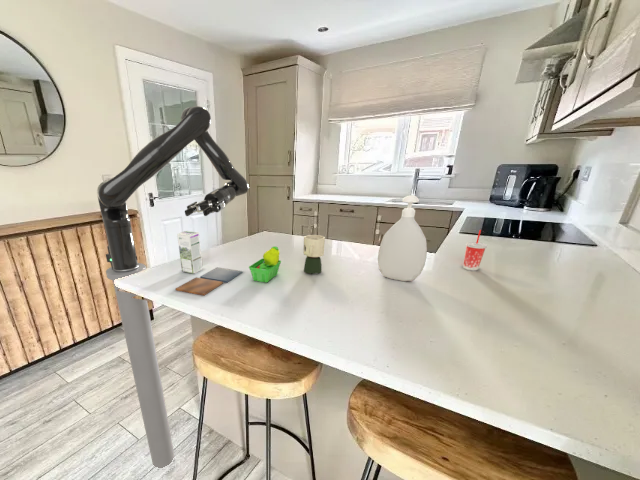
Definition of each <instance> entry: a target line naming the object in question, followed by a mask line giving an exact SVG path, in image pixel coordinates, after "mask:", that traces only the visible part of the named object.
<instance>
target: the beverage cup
mask: <svg viewBox="0 0 640 480" xmlns="http://www.w3.org/2000/svg"><path fill="white" fill-rule="evenodd" d="M481 233H482V229H479V231H478V234H477V238H476V241H468V242H465V246H466V247H465V252H464V259H463V263H462V268H463V269H464V270H467V271H479V268H480V266H481V262H482V260H483V256H484V254H485V251H486V249H487V247H488V244H487V243H483V242H479V241H480V240H479V239H480V236H481Z"/></svg>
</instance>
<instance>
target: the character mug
mask: <svg viewBox="0 0 640 480" xmlns="http://www.w3.org/2000/svg"><path fill="white" fill-rule="evenodd" d="M325 242H326V237H325V236H324V235H319V234H308V235H304V236H303V255H304V256H305V261H304V265H303V272H304V273H305V274H311V275H313V274H321V273H322V271H323V270H322V269H323V268H322V258H321V257H323V256H324V254H325Z"/></svg>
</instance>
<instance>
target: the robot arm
mask: <svg viewBox="0 0 640 480" xmlns="http://www.w3.org/2000/svg"><path fill="white" fill-rule="evenodd" d="M180 114H181V115H180V122H179V123H177V124H176V125H175V126H174V127H173V128H171V129H169V130H167V131H165V132H163V133H162V134H160V135H158V136H157V137H155V138H153V139H152V140H150V142H148V143H147V144H146V145H145V146H143V148H141V149H140V150H139V151H138V152H137V153H136V154H135V156H134V157H133V158H132V159H131V161H130V162H129V163H128V164H127V166H126V167H125V168H124V169H123V170H122V171H120V172H119V173H117V174H116V175H115V176H113V177H112V178H111V179H109V180H104V181H102V182H100V184H99V185H98V186H97V189H96V195H97V202H98V205H99V210H100V214H101V219H102V222H103V227H104V231H105V236H106V240H107V246H106V248H107V252H108V253H105V258H106V262H107V263H109V264H110V266H111V267H112V270H113V271H115V272H129V271H133V270H136V269H137V268H138V267H139V266H138V263H139V262H138V255H137V251H136V246H135V241H134V234H133V230H132V224H131V217H130V214H129V212H128V206H127V201H128V199H130V197H131V196H132V195H133V194H134V193H135V192H136V191H137V190H138V189H139V188H140V187H141V186H142V185H143V184H145V183H146V182H148V181H149V180H151V179H152V178H153V177H154V176H155V175H157V174H158V173H159V172H161V171H162V170H163V169H164V168H165V167H166V166H167V165H169V164H170V162H171V161H173V160H174V159H175V158H176V157H177V156H178V155H179V154H180V153H181V152H182V151H183V150H184V149H185V148H186V147H187V146H188V145H190V144H191V143H193V142H194V141H195V143H197V145H198V146H199V148H200V149H201V150H202V152H203V153H204V155H205V156H206V157H207V158H208V160H209V161H210V163H211V165H212V166H213V167H214V169H215V171H216V172H217V174H218V176H219V177H220V179H222V180H223V181H226V183H224V184H223V185H222V186H221V187H219V188H216V189H214V190H212V191H210V192H209V193H207V194H205V196H204V199H203V200H201V201H199V202H198V201H194V202H193V203H190V204H188V205H187V206H186V209H185V210H184V215H185V217H189V216H191V215H193V214H195V213H197V214H199V213H202V212H203V216H204V217H207V216H209V215H210V214H214V213H219V212H221V211H222V210H223V209H225V207H226V206H227V205H228V204H230V203H231V202H232V201H234V200H235V199H236V197H239V196H243V195H245V194H247V193H248V192H249V189H250V187H249V183H248V181H247V179H246V178H245V176H243V174H241V173H240V171H238V170H237V169H236V168H235V166H234V164H233V163H232V162H231V160H230V158H229V157H228V156H227V154H226V152H225V151H224V150H223V149H222V148H221V147H220V146H219V145H218V144H217V142H216V141H215V140H214V139H213V137H212V136H211V134H210V133H209V131H208V130H209V129H210V127H211V124H212V117H211V114H210V112H209V110H208V109H206V108H205V107H203V106H200V105H194V106H189V107H186V108H184V109H183V110H182V112H181V113H180Z"/></svg>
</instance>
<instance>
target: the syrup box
mask: <svg viewBox="0 0 640 480" xmlns="http://www.w3.org/2000/svg"><path fill="white" fill-rule="evenodd" d="M176 237H177V243H178V249H179V250H178V251H179V259H180V266H181V272H183V273H188V274H193V275H194V274H196V273H199V272H200V271H203V261H202V260H203V259H202V251H201V250H202V249H201V241H200V232H199V231H192V230H191V231H190V230H184V231H181V232H179V233H177V236H176Z"/></svg>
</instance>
